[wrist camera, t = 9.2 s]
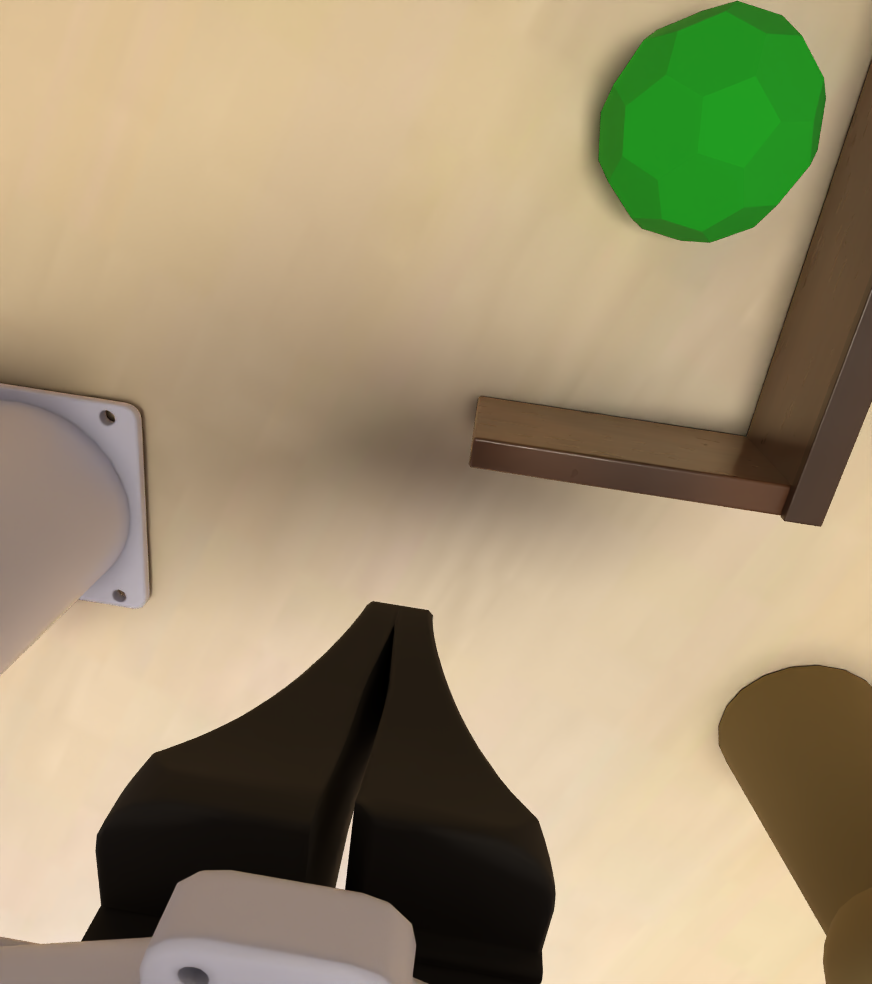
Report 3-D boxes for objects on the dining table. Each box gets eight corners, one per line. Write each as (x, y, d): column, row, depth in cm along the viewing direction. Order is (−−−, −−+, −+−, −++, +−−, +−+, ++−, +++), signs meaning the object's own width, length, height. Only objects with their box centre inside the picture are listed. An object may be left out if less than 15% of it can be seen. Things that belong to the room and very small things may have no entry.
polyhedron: (614, 258, 20) (644, 280, 16) (567, 75, 19) (586, 45, 14) (795, 194, 19) (879, 199, 15) (763, -7, 18) (848, -68, 13)
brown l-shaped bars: (474, 421, 23) (467, 472, 19) (597, -345, 15) (628, -522, 12) (766, 466, 23) (821, 527, 19) (1034, -292, 15) (1218, -455, 11)
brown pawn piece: (805, 636, 25) (1007, 945, 15) (924, 723, 26) (1186, 1066, 16) (684, 737, 27) (787, 1063, 17) (797, 813, 28) (957, 1162, 18)
